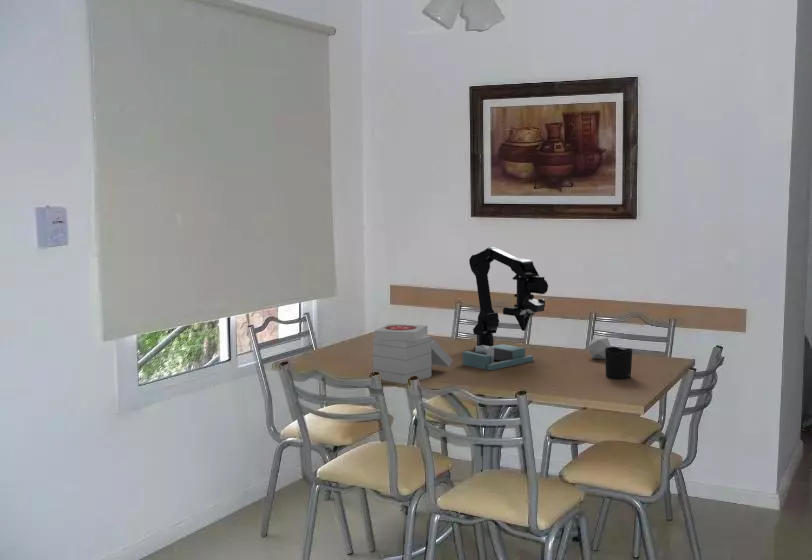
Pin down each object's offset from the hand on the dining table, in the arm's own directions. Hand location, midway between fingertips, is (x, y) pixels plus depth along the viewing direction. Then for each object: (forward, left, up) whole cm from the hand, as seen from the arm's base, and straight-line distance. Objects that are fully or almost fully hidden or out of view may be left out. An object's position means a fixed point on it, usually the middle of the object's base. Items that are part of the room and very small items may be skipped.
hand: (523, 330), depth 357 cm
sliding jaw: (0, -10, -10) cm, 14 cm away
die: (+23, +19, -11) cm, 32 cm away
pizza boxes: (-7, -54, -11) cm, 55 cm away
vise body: (+1, -16, -10) cm, 19 cm away
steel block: (0, -23, -10) cm, 25 cm away
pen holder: (+47, -3, -11) cm, 48 cm away
